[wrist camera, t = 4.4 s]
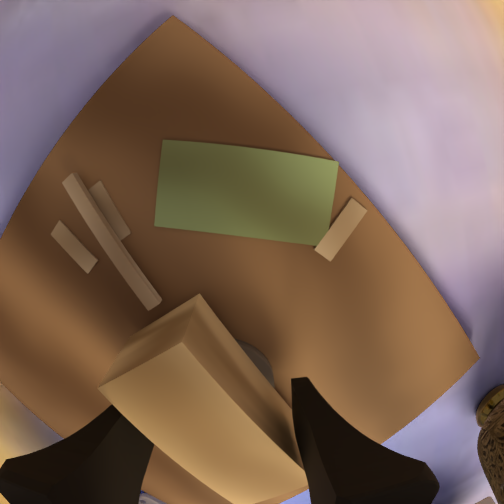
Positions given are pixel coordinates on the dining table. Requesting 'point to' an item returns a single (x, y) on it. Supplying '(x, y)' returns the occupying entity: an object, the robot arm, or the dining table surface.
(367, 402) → the brown flat square board
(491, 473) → the cup
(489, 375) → the dining table surface
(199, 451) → the peg key
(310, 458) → the robot arm
